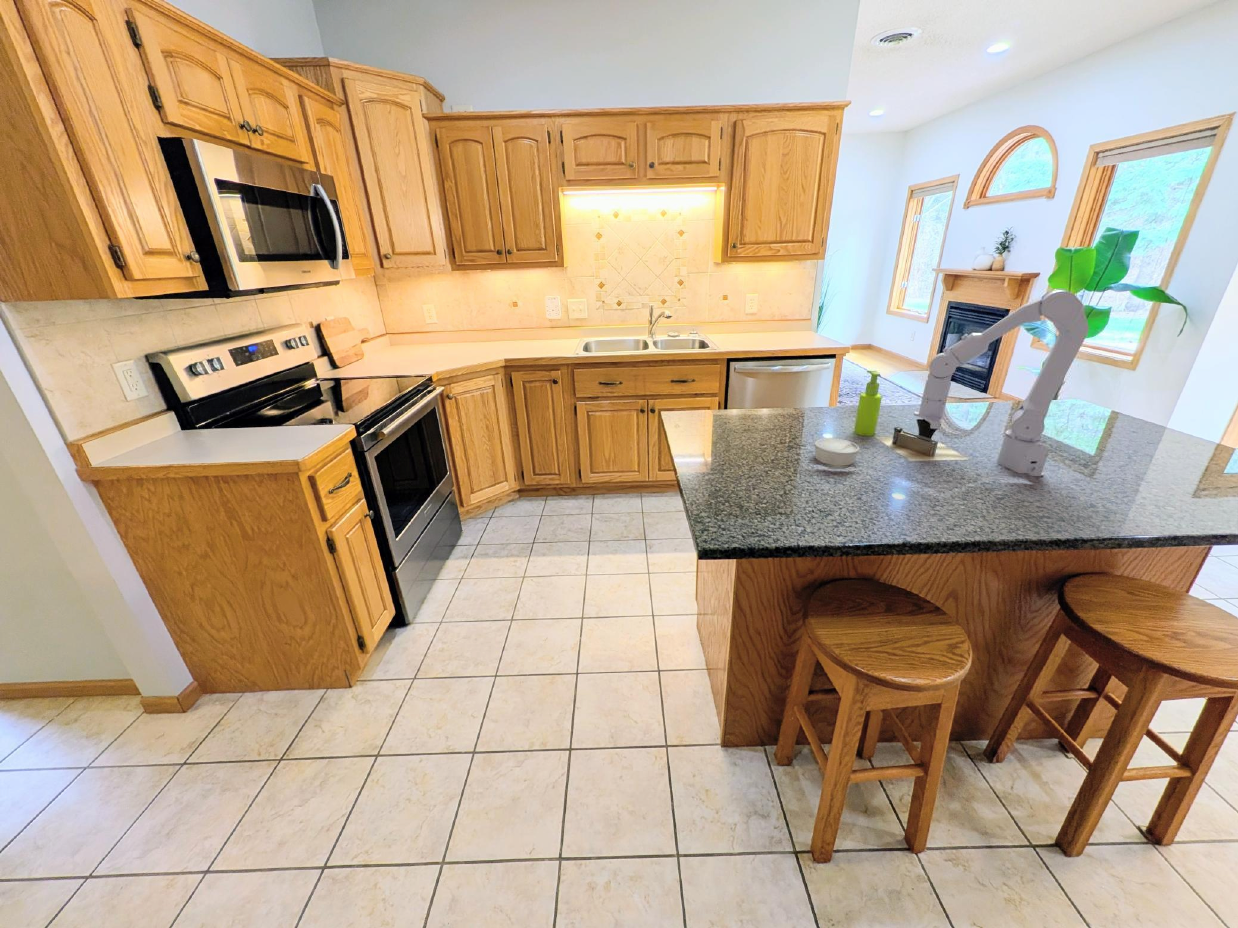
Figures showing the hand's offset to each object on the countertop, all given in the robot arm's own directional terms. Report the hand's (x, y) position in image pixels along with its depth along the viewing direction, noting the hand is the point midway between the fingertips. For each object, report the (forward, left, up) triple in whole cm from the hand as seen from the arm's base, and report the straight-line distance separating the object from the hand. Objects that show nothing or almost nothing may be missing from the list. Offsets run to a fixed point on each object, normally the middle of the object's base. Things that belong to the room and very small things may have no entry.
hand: (923, 445), depth 140 cm
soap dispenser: (+16, +9, -3) cm, 18 cm away
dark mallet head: (0, +3, -1) cm, 3 cm away
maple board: (+1, 0, -2) cm, 3 cm away
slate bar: (-1, +2, -1) cm, 2 cm away
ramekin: (-5, +27, -3) cm, 28 cm away
